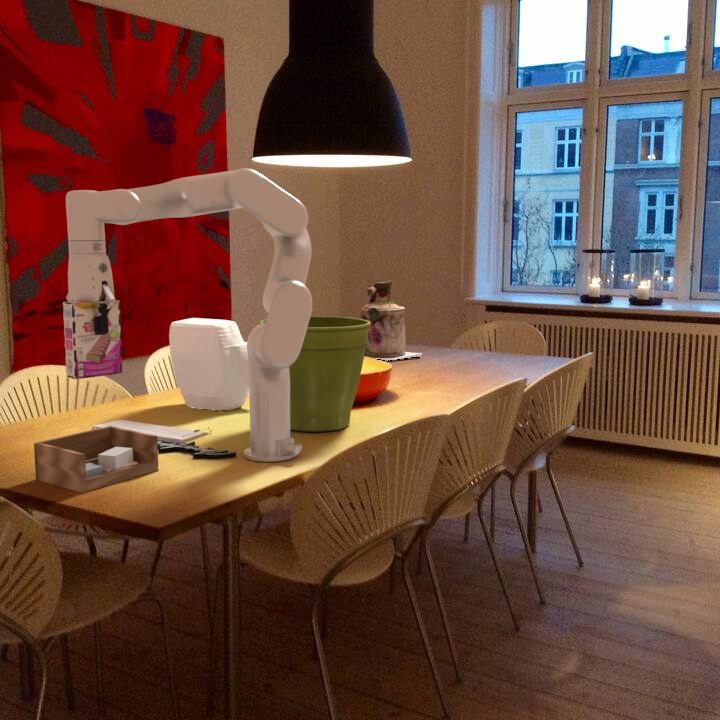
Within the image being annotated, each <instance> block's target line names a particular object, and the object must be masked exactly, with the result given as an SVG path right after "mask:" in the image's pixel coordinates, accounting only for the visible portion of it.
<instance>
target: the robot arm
mask: <svg viewBox="0 0 720 720" xmlns="http://www.w3.org/2000/svg"><path fill="white" fill-rule="evenodd" d="M238 209H244V210H245V211H246V212H248V213H249V214H251V215H252V216H254V217H255V218H257V220H260V221H261V223H262V226H263V227H264V229H265V230H266V232H268V234H270V236H271V238H272V241H273V242H274V243H273V244H274V253H273V259H272V264H271V268H270V270H269V275H268V279H267V282H266V285H265V288H264V291H263V294H262V305H263V308H264V310H265V311H266V312H267V317H266V318H265V319H266V323H262V324H260V323H259V324H258V325H256V326H254V327H253V329H251V331H250V333H249V334H248V337H247V340H246V342H247V356H248V365H249V381H250V391H249V431H250V432H249V435H250V436H249V439H250V441H249V442H250V446H249V447H247V448H246V449H244V451H243V456H244V458H245V459H247V460H250V461H254V462H262V463H263V462H265V463H270V462H271V463H274V462H282V461H288V460H292V459H294V458H295V457H297V456H298V455H299V454H300V452H301V451H302V449H303V446H302V444H298V443H295V437H294V436H292V435H291V433H292V431H291V430H292V429H291V427H290V370H289V366H291V365H292V364H293V363H294V362H295V361H296V359H297V358H298V356H299V353H300V351H301V348H302V344H303V341H304V338H305V334H306V331H307V327H308V323H309V320H310V316H312V312H313V297H312V293H311V291H310V290H309V288H308V287H307V286H306V282H307V279H308V274H309V269H310V265H311V260H312V254H313V253H312V252H313V251H312V242H311V238H310V234H309V232H308V229H307V226H308V224H309V214H308V210H307V208H306V206H305V205H304V204H303V203H302V201H300V199H297V198H296V197H295V196H293V195H292V194H291V193H289V192H288V191H286V190H285V189H283V188H282V187H280V186H279V185H277V184H276V183H274V182H273V181H272V180H270V179H269V178H268V177H266V176H265V175H263V174H261V173H260V172H258V171H257V170H255V169H253V168H250V167H249V168H248V167H243V168H239V169H234V170H228V171H220V172H214V173H207V174H199V175H192V176H186V177H185V176H184V177H180V178H177V179H172V180H170V181H167V182H164V183H163V182H162V183H159V184H153V185H148V186H143V187H142V186H141V187H135V188H129V189H125V188H117V189H111V190H102V191H97V190H92V189H91V190H90V189H79V190H78V189H77V190H75V189H74V190H71V191H68V192H67V193H66V196H65V210H66V220H67V221H66V222H67V223H66V225H67V238H68V239H67V240H68V243H67V244H68V265H67V266H68V269H67V286H68V287H67V288H68V289H67V290H68V293H67V295H66V296H65V298H66V300H67V302H72V301H84V302H90V303H93V306H94V310H95V313H96V316H94V327H95V334H96V335H102V334H108V333H109V329H108V315H109V314H110V312H109V311H110V310H111V308H112V306H113V304H114V303H115V301H116V300H117V299H116V298H115V287H114V280H113V279H114V278H113V271H112V267H111V261H110V258H109V255H107V247H106V232H105V224H113V225H114V224H115V225H120V226H125V225H126V226H127V225H130V224H134V223H141V222H146V221H147V222H148V221H153V220H159V219H168V218H169V219H170V218H178V219H179V218H189V217H197V216H200V215H201V216H203V215H208V214H213V213H214V214H215V213H221V212H227V211H232V210H233V211H234V210H238ZM99 300H100V301H99ZM99 305H102V306H101V308H100V307H99Z"/></svg>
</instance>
